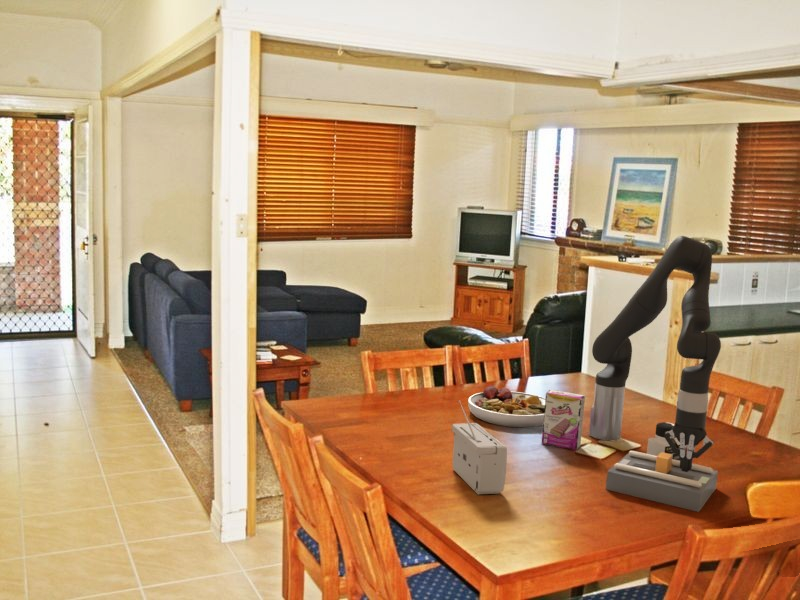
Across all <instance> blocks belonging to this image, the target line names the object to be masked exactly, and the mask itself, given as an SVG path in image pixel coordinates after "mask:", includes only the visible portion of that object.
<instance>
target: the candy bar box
mask: <svg viewBox="0 0 800 600" xmlns="http://www.w3.org/2000/svg"><path fill="white" fill-rule="evenodd" d="M545 398H546V399H545V411H544V422H543V425H542V434H541V444H542V445H546V446H547V445H548V446H551V447H557V448H563V449H568V450H573V451H578V449H579V448H580V447H581V445H582V443H581V442H582V432H583V422H584V412H585V411H584V410H585V402H586V401H585V400H586V396H585V394H579V393H573V392H567V391H562V390H555V389H549V390H548V391H546V393H545Z"/></svg>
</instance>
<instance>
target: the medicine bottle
mask: <svg viewBox="0 0 800 600" xmlns="http://www.w3.org/2000/svg"><path fill="white" fill-rule="evenodd" d="M674 425H675V423H671V422H666V421H664V422H659V423H657V424H656V425H655V434H654V435H655V437H649V438H648V439H647V449H646V454H650V455H655V456H658V455H659V454H660V453H661V452H664V453H668V454H673V458H672V459H673V460H678V461H680V455H678V454H675V453H674V452H673V450H672V449H671V447H670V445H669V444H668V442H667V441H666V439H665V437H664V434H665V433H666V432H667V431H671V430H672V428H673V427H674ZM674 436H675V434H674ZM674 439H675V441H676V443H677V444H678V446H679V447H680V442H679V441H678V440H677V438H676V436H675V437H674Z"/></svg>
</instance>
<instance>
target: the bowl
mask: <svg viewBox="0 0 800 600" xmlns="http://www.w3.org/2000/svg"><path fill="white" fill-rule="evenodd" d="M545 399H546V397H543V396H540V395H537V394H532V393H526V392H521V391H511V390H510V389H509V388H508V387H502V388H501V389H499V390H498V388H497V386H494V385H488V386H486V387H485V388H484V389H483V391H482V392H477V393H474V394H473V395H471V396H469V397H468V401H467V404H468V408H469V411H470V412H471V414H472V415H473V416H475V417H476V418H478V419H479V420H481V421H483V422H485V423H489V424H493V425H497V426H503V427H512V428H534V427H535V428H536V427H540V426H543V422H544V411H545Z"/></svg>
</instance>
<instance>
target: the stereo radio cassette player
mask: <svg viewBox="0 0 800 600" xmlns="http://www.w3.org/2000/svg"><path fill="white" fill-rule="evenodd" d="M458 403H460V406H461V411H462V412H463V415H464V418H465V420H466V423H465V422H463V423H461V422H460V423H453V424H452V425H451V432H453V449H452V450H453V452H452V469H453V471H454V472H455V473H456V474H458V476H459V477H460V478H461V479H462V480H463V481H464V482H465V483H466V484H467V485H468V486H469V487H470V489H472V490H473V491H474V492H475V493H476V495H489V494H492V495H493V494H495V495H498V494H500V493H502V492H503V491H504V489H505V483H506V475H507V474H506V473H507V457H508V451H507V449H508V448H507V446H506V445H504V444H503V443H502V442H501V441H500V440H498V439H497V438H496V437H494V435H492V434H491V433H490V432H488V431H487V430H486V429H485V428H484V427H482V426H481V425H480V424H479V423H477V422H470V421H469V419H468V417H467V414H466V412H465V410H464V408H463V406H462V403H461V400H458Z"/></svg>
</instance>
